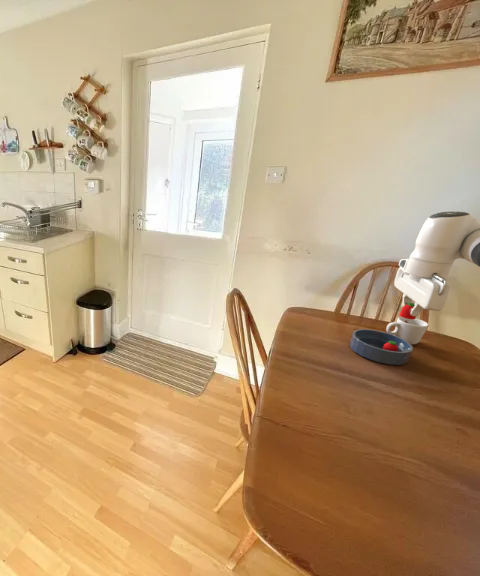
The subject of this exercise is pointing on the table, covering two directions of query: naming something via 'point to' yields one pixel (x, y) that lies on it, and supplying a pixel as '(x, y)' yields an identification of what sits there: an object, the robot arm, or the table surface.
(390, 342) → the strawberry
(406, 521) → the table surface
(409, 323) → the cup
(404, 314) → the strawberry
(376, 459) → the table surface
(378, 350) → the bowl
